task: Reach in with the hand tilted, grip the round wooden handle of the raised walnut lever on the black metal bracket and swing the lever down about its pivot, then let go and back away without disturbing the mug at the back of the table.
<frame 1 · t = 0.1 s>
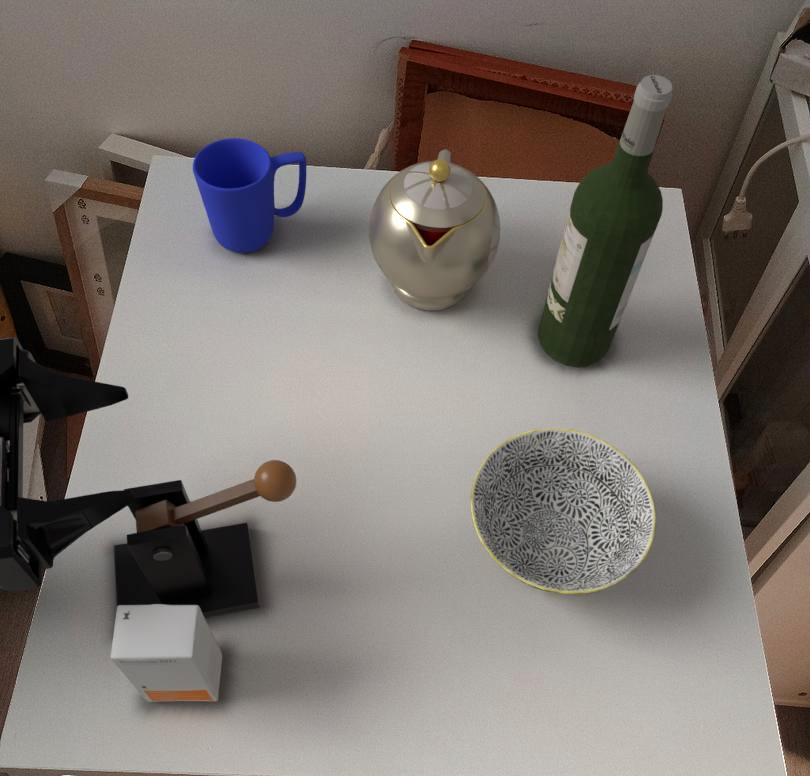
hand: (130, 442, 61), 17 cm above the table, tool horizontal, fingers open, 9 cm apart
bowl: (546, 544, 77), on the table
wine bottle: (572, 340, 90), on the table
bracket: (187, 578, 74), on the table
cosmetic box: (187, 679, 70), on the table
lever: (218, 501, 64), point 13 cm above the table, hinge at 20.0°
mug: (261, 233, 96), on the table
teapot: (431, 275, 94), on the table
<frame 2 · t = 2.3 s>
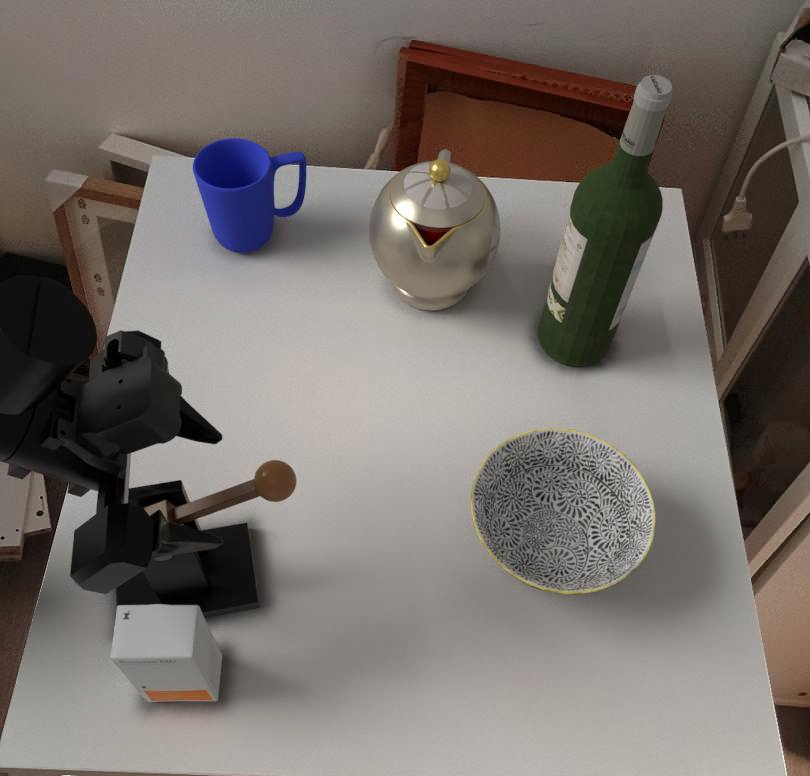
hand: (219, 490, 63), 14 cm above the table, tool tilted 45°, fingers open, 9 cm apart
nothing on the table moved.
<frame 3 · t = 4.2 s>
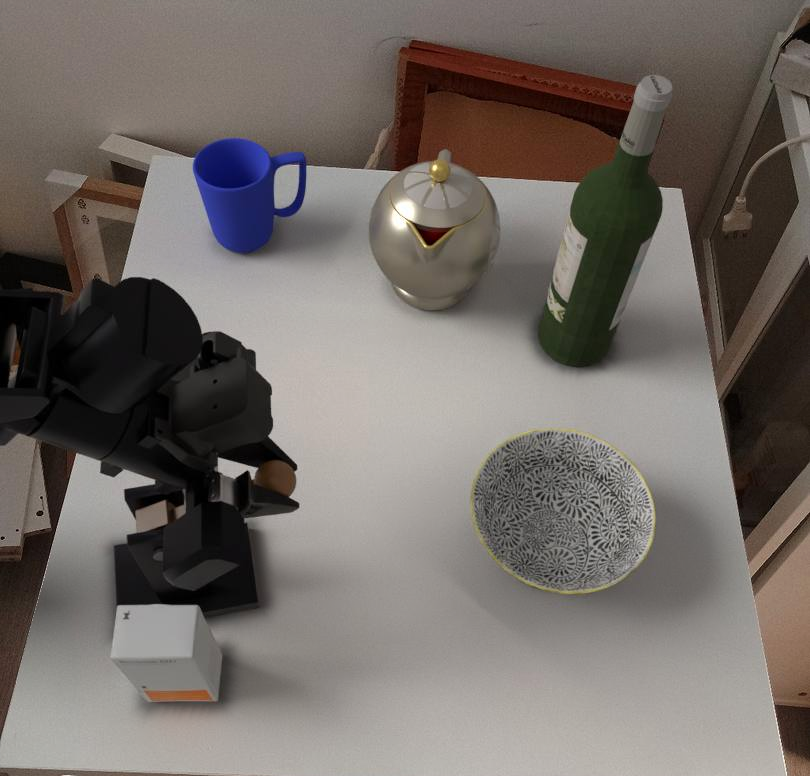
hand: (295, 489, 64), 13 cm above the table, tool tilted 45°, fingers closed on lever, 3 cm apart
lever: (218, 501, 64), point 13 cm above the table, hinge at 20.0°, touching gripper
everything else where it was.
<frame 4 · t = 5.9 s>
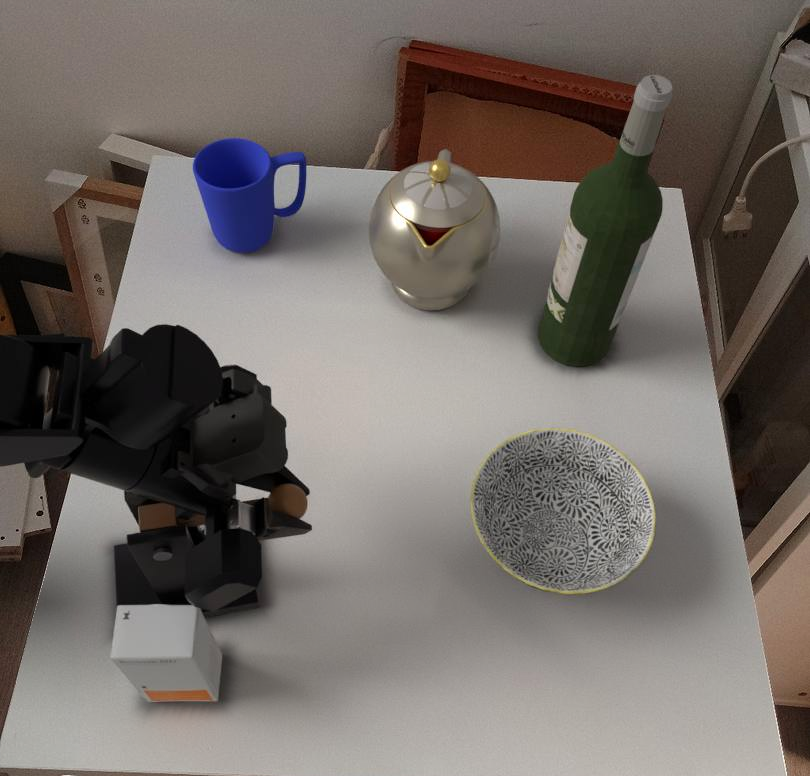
hand: (307, 512, 68), 9 cm above the table, tool tilted 45°, fingers closed on lever, 3 cm apart
lever: (225, 512, 65), point 11 cm above the table, hinge at -2.0°, touching gripper
everything else where it was.
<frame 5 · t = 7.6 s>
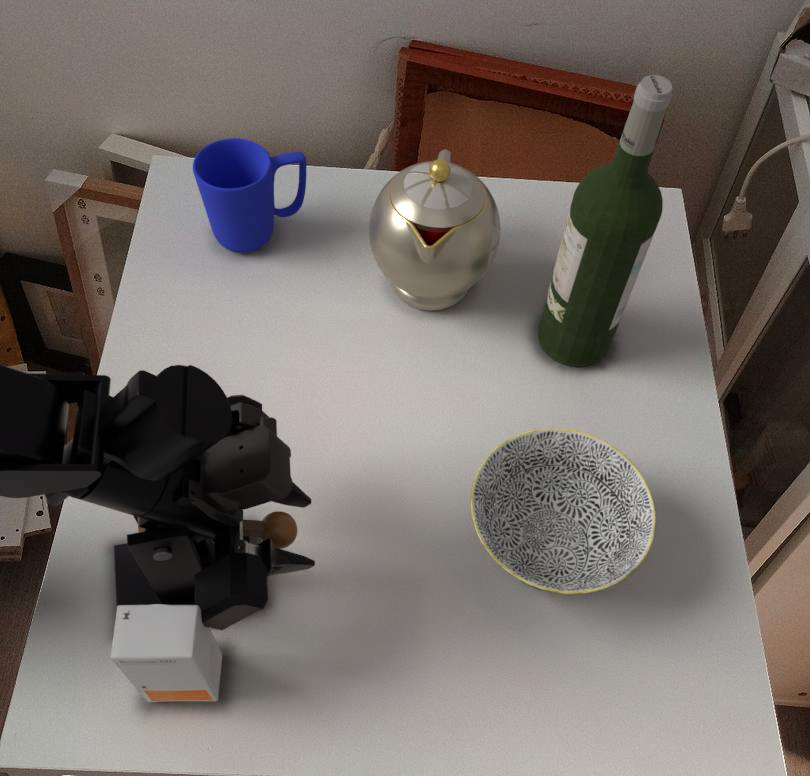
hand: (310, 533, 71), 5 cm above the table, tool tilted 45°, fingers open, 6 cm apart
lever: (222, 526, 67), point 9 cm above the table, hinge at -28.0°
everything else where it was.
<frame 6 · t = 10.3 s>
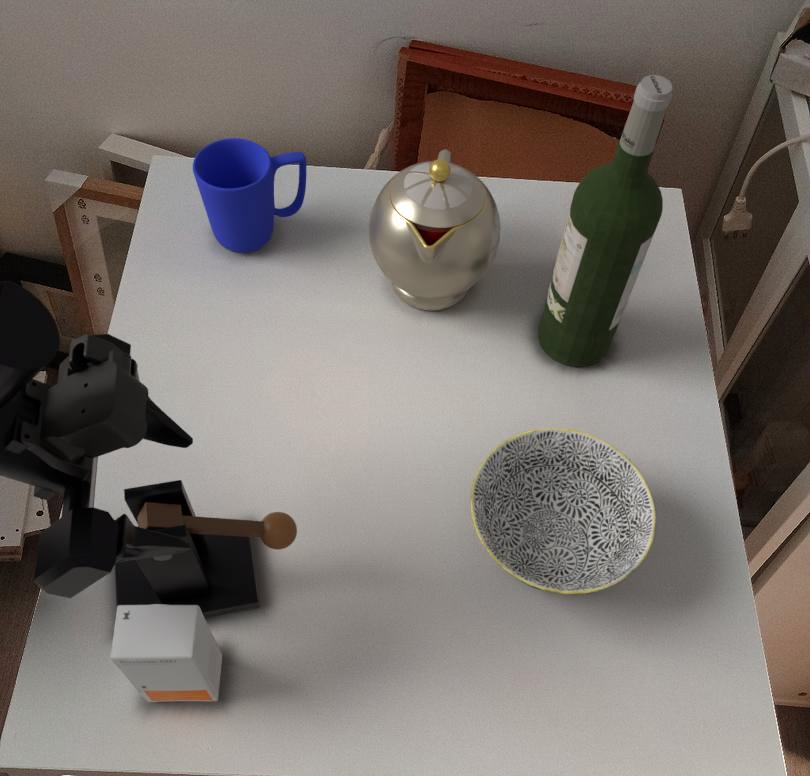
hand: (188, 494, 63), 13 cm above the table, tool tilted 45°, fingers open, 9 cm apart
lever: (222, 526, 67), point 9 cm above the table, hinge at -28.5°
everything else where it was.
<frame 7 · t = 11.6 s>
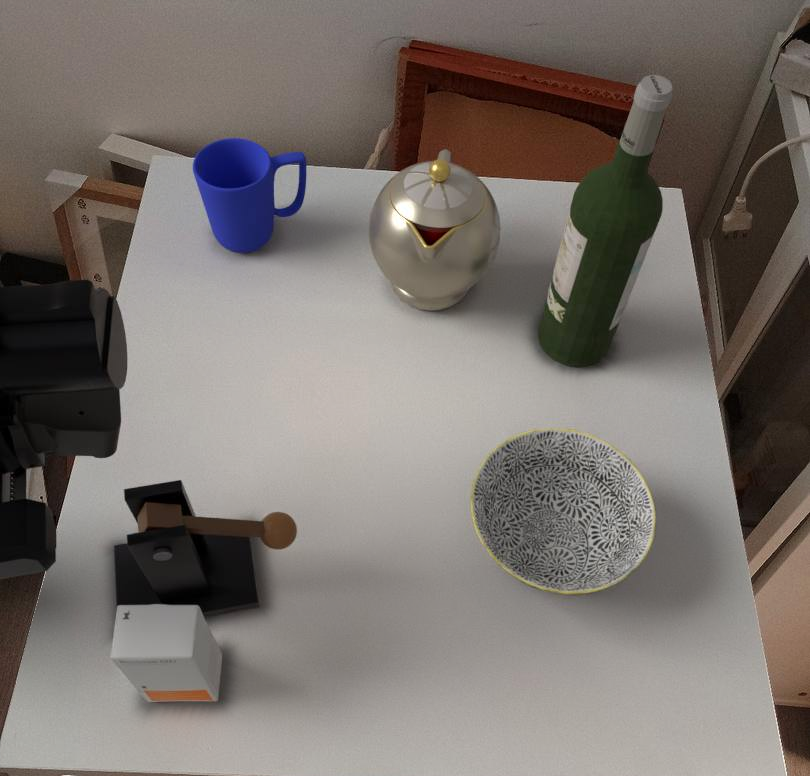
hand: (46, 505, 63), 13 cm above the table, tool pointing down, fingers open, 9 cm apart
nothing on the table moved.
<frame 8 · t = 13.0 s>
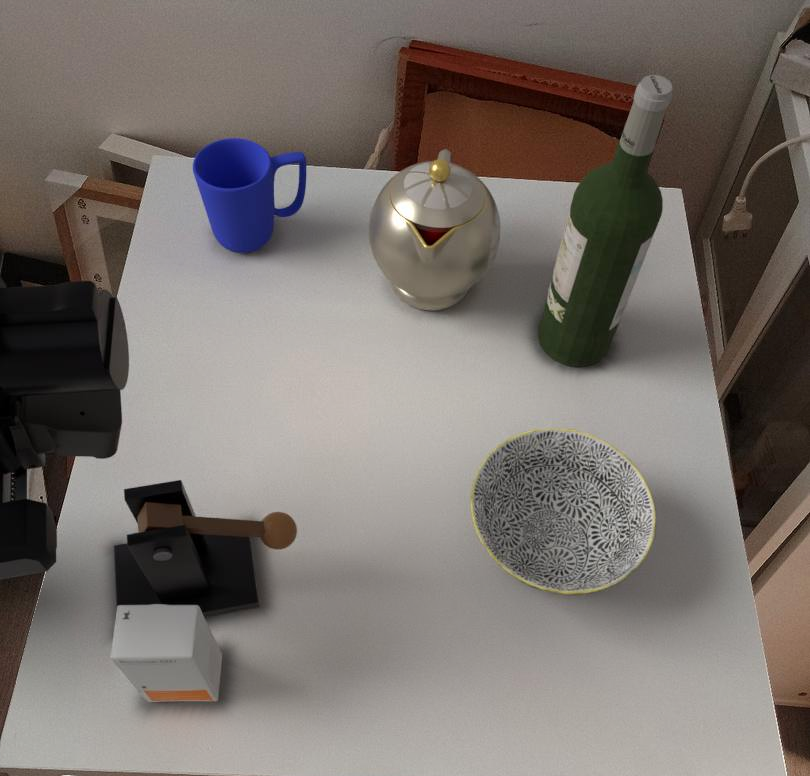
hand: (45, 505, 63), 13 cm above the table, tool pointing down, fingers open, 9 cm apart
nothing on the table moved.
at the end: lever at -28° (first picture: +20°); the gripper is holding nothing; mug moved 0.2 cm from its start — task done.
